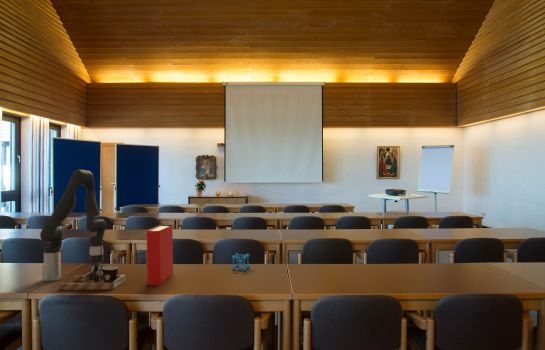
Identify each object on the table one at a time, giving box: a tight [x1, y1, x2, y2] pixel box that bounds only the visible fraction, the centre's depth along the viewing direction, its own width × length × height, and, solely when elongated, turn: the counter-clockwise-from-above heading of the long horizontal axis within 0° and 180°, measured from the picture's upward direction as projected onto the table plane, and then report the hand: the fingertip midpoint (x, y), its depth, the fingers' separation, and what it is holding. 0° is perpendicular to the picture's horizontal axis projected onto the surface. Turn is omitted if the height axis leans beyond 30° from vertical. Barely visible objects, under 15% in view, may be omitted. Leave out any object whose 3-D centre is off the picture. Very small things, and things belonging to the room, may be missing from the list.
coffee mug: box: [98, 265, 119, 283], centre depth 242 cm, size 12×9×10 cm
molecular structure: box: [231, 253, 251, 272], centre depth 278 cm, size 10×10×10 cm
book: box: [146, 224, 174, 286], centre depth 254 cm, size 27×8×32 cm, turn 178°
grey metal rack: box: [59, 271, 126, 291], centre depth 246 cm, size 30×27×4 cm
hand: (96, 282), depth 242 cm, fingers closed
